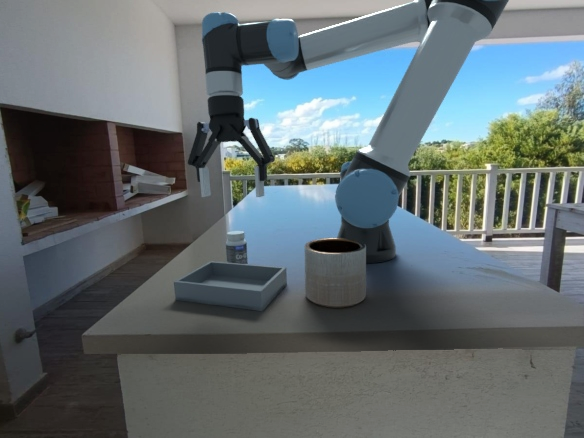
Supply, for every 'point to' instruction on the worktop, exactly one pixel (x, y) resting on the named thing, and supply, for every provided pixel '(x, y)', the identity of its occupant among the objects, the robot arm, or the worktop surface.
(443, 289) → the worktop surface
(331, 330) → the worktop surface
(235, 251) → the pill bottle
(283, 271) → the grey tray
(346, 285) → the planter
